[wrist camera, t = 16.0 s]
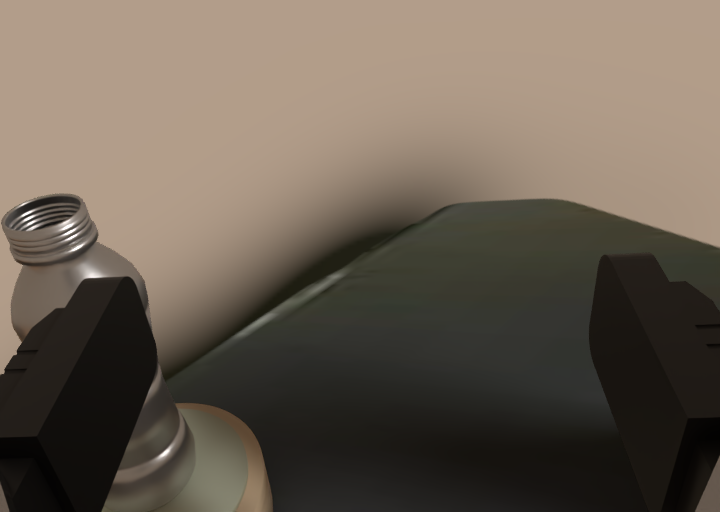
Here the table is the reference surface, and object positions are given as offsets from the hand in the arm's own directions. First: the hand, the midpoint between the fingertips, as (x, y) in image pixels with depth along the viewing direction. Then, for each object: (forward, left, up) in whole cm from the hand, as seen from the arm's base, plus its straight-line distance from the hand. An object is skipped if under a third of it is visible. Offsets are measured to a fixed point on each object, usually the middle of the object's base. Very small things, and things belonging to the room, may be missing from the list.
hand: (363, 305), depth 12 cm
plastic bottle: (-3, -23, -28) cm, 36 cm away
